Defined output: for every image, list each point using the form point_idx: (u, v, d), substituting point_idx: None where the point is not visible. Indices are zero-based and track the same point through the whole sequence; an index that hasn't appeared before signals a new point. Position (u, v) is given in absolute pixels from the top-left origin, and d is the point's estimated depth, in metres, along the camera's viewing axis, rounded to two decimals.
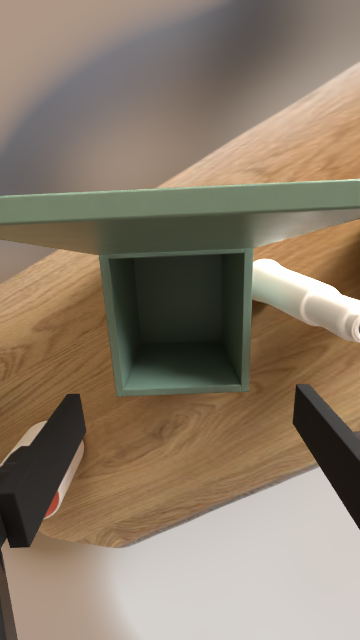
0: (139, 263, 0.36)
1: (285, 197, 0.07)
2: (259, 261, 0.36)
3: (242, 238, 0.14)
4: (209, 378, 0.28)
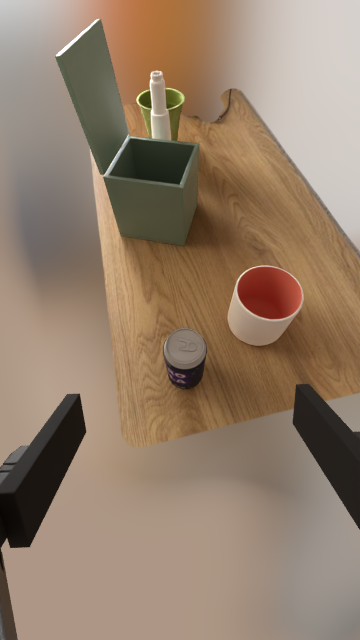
0: None
1: (89, 26, 0.38)
2: None
3: (109, 86, 0.44)
4: None
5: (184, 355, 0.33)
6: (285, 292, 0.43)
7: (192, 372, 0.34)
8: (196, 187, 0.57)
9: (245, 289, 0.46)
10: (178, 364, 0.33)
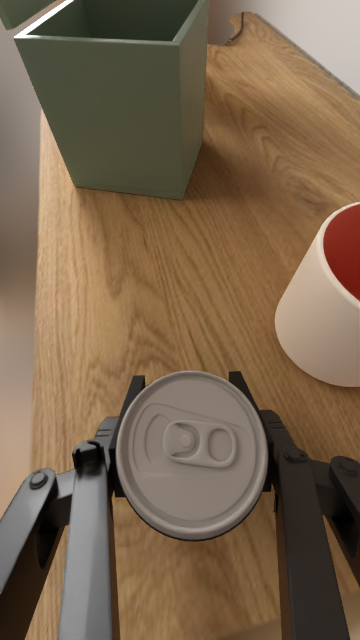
0: None
1: None
2: None
3: None
4: None
5: (191, 487, 0.08)
6: None
7: None
8: (202, 99, 0.33)
9: None
10: None
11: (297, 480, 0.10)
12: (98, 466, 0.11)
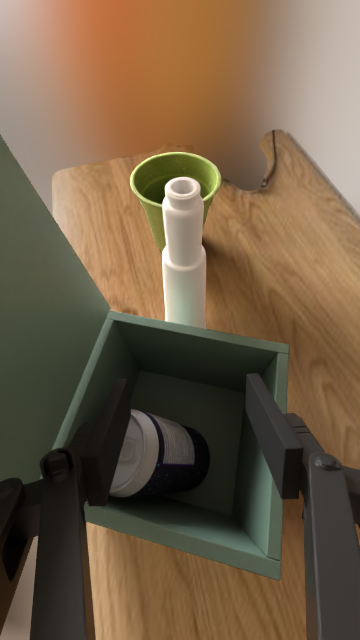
0: None
1: None
2: None
3: (28, 265, 0.13)
4: None
5: None
6: None
7: (146, 494, 0.18)
8: None
9: None
10: None
11: (329, 487, 0.09)
12: (68, 474, 0.10)
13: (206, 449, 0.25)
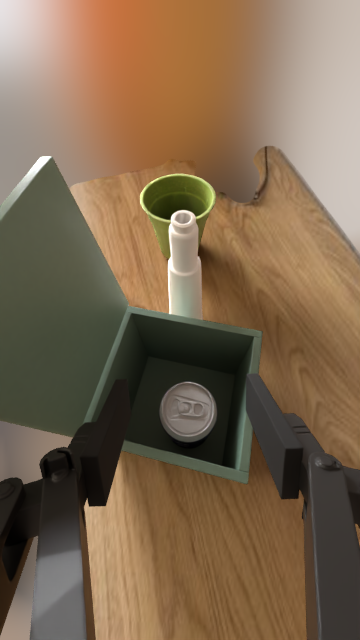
0: (133, 438, 0.34)
1: (15, 193, 0.14)
2: None
3: (83, 274, 0.20)
4: (247, 370, 0.27)
5: (187, 423, 0.24)
6: None
7: (198, 442, 0.25)
8: None
9: None
10: (179, 436, 0.24)
11: (329, 487, 0.09)
12: (68, 474, 0.10)
13: None
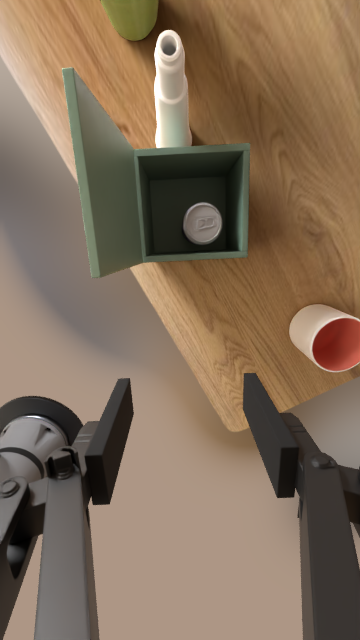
0: (161, 248, 0.48)
1: (75, 128, 0.18)
2: (157, 145, 0.43)
3: (113, 153, 0.24)
4: (240, 181, 0.35)
5: (205, 233, 0.36)
6: (349, 319, 0.46)
7: None
8: None
9: None
10: (201, 242, 0.37)
11: (324, 486, 0.09)
12: (73, 473, 0.10)
13: None
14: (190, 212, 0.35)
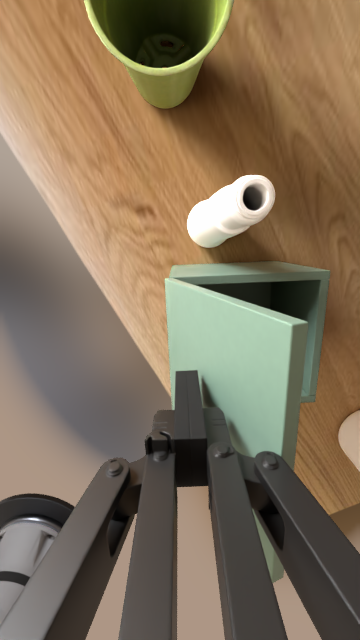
0: None
1: (294, 405, 0.10)
2: (189, 231, 0.35)
3: None
4: (308, 307, 0.26)
5: None
6: None
7: None
8: None
9: None
10: None
11: (227, 474, 0.10)
12: (167, 457, 0.11)
13: None
14: None
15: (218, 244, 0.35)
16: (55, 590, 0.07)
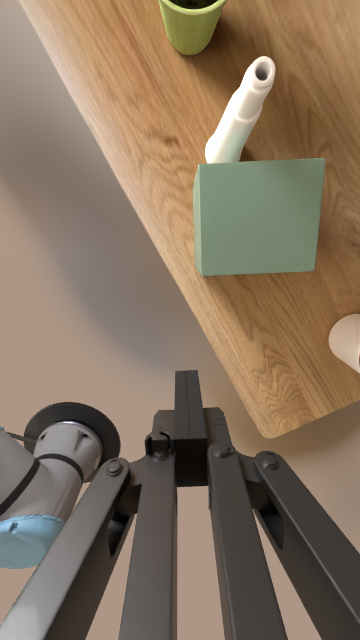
0: None
1: None
2: (207, 157, 0.44)
3: None
4: None
5: None
6: None
7: None
8: None
9: None
10: None
11: (227, 474, 0.10)
12: (167, 457, 0.11)
13: None
14: None
15: None
16: (55, 590, 0.07)
